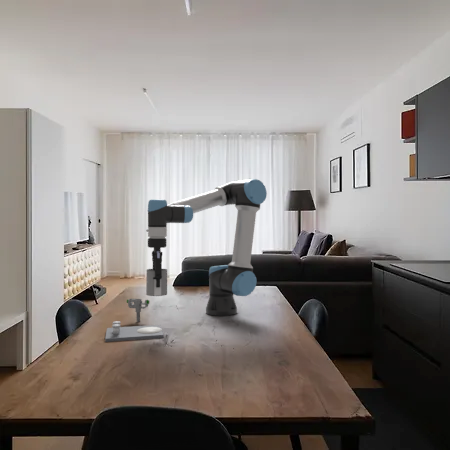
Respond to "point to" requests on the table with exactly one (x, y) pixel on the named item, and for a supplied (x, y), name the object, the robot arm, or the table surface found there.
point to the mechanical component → (137, 306)
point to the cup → (151, 282)
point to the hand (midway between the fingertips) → (156, 293)
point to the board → (133, 332)
